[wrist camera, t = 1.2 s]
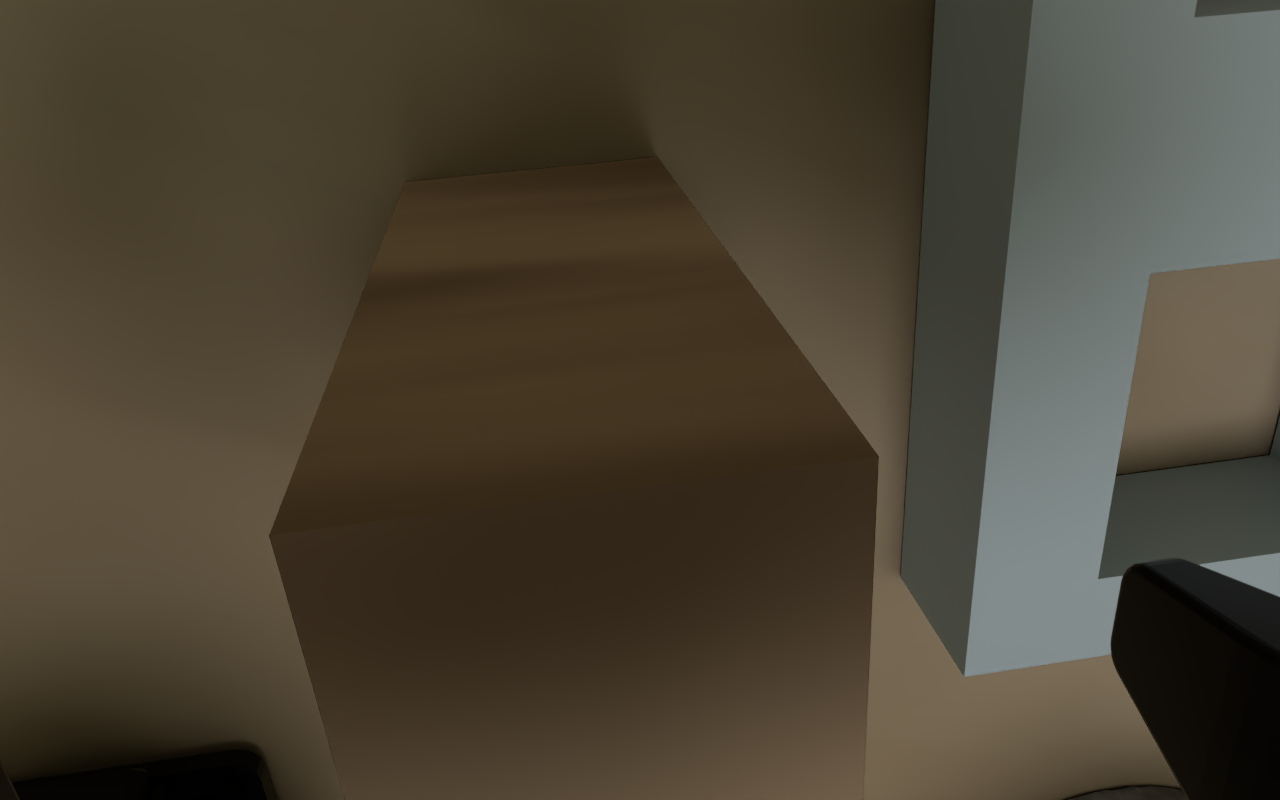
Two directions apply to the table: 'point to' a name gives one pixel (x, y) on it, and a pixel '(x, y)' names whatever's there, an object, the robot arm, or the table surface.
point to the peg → (579, 512)
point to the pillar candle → (1136, 794)
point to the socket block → (1076, 308)
